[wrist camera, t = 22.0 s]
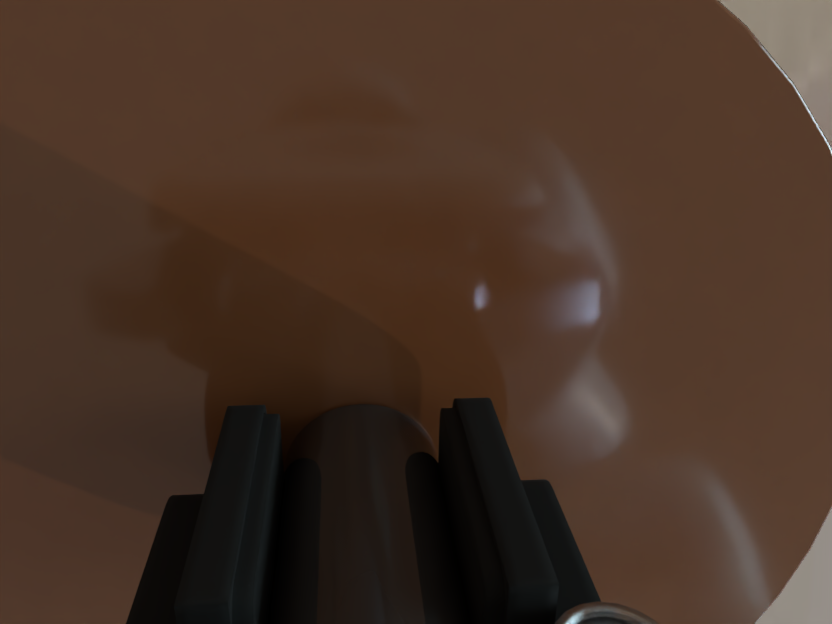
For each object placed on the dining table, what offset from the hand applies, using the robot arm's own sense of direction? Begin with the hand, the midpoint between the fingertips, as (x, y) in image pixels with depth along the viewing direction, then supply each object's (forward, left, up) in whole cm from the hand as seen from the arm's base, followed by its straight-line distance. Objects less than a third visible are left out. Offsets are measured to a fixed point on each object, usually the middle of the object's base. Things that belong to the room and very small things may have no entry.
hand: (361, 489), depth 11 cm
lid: (0, 0, -1) cm, 1 cm away
